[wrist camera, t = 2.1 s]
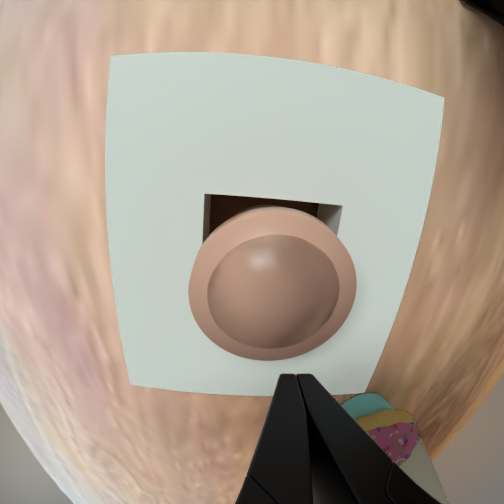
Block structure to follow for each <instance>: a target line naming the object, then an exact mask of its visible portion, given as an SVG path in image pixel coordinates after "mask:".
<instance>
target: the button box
mask: <svg viewBox="0 0 504 504" xmlns="http://www.w3.org/2000/svg"><path fill="white" fill-rule="evenodd" d="M443 108H444V98H443V97H441V96H438V95H435V94H432V93H430V92H427V91H424V90H421V89H418V88H415V87H411V86H408V85H405V84H402V83H398V82H395V81H391V80H388V79H384V78H381V77H377V76H373V75H369V74H365V73H361V72H356V71H352V70H348V69H343V68H338V67H333V66H328V65H323V64H317V63H311V62H305V61H299V60H292V59H284V58H276V57H268V56H258V55H246V54H232V53H211V52H163V53H142V54H128V55H117V56H111V62H110V71H109V82H108V94H107V110H106V133H105V190H106V214H107V230H108V243H109V255H110V265H111V274H112V282H113V290H114V298H115V305H116V312H117V318H118V324H119V330H120V336H121V342H122V347H123V352H124V357H125V362H126V367H127V372H128V376H129V381H130V385H136V386H143V387H150V388H158V389H166V390H175V391H185V392H195V393H208V394H223V395H243V396H273V394H274V391H275V388H276V385H277V381H278V378H279V375H280V374H282V373H288V374H295V375H296V374H305V373H310V374H312V375H314V376H315V378H316V379H317V380H318V381H319V382H320V383H321V384H322V385H323V386H324V388H325V389H326V390H327V391H328V392H329V393H330V394H331V395H342V394H357V393H365V390H366V388H367V386H368V384H369V382H370V379H371V377H372V375H373V373H374V370H375V368H376V366H377V363H378V361H379V358H380V356H381V354H382V351H383V349H384V346H385V344H386V341H387V338H388V336H389V333H390V331H391V328H392V325H393V323H394V320H395V317H396V314H397V311H398V309H399V306H400V303H401V300H402V297H403V294H404V291H405V288H406V285H407V281H408V278H409V275H410V272H411V268H412V265H413V261H414V258H415V254H416V251H417V247H418V244H419V240H420V236H421V232H422V228H423V224H424V220H425V216H426V211H427V207H428V202H429V198H430V193H431V188H432V183H433V178H434V172H435V166H436V161H437V154H438V148H439V141H440V134H441V126H442V118H443ZM211 194H218V195H233V196H246V197H259V198H271V199H282V200H293V201H303V202H313V203H319V206H318V212H317V219H319V220H320V221H322V222H323V223H324V224H326V225H327V226H328V227H329V228H330V229H331V230H332V231H333V232H334V233H335V234H336V236H337V237H338V238H339V239H340V241H341V242H342V243H343V245H344V246H345V248H346V249H347V251H348V253H349V254H350V256H351V259H352V261H353V263H354V267H355V271H356V279H357V287H356V295H355V300H354V303H353V306H352V309H351V311H350V313H349V315H348V317H347V319H346V320H345V322H344V323H343V325H342V326H341V327H340V329H339V330H338V331H337V332H336V333H335V334H334V335H333V336H332V337H331V338H330V339H329V340H327V341H326V342H325V343H323V344H322V345H320V346H319V347H317V348H315V349H314V350H312V351H310V352H307V353H305V354H303V355H300V356H297V357H294V358H289V359H285V360H277V361H260V360H252V359H247V358H243V357H240V356H236V355H234V354H232V353H229V352H227V351H225V350H224V349H222V348H220V347H219V346H217V345H216V344H215V343H213V342H212V341H211V340H210V339H209V338H208V337H207V336H206V335H205V334H204V333H203V332H202V330H201V329H200V328H199V326H198V324H197V323H196V321H195V319H194V317H193V314H192V312H191V308H190V304H189V296H188V288H189V280H190V276H191V272H192V268H193V265H194V261H195V259H196V256H197V254H198V251H199V249H200V248H201V246H202V244H203V243H204V241H205V240H206V239H207V238H208V236H209V228H210V208H211Z"/></svg>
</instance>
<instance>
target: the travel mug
mask: <svg viewBox="0 0 504 504" xmlns="http://www.w3.org/2000/svg"><path fill="white" fill-rule="evenodd" d="M419 439H420V440H419V441H418V442H417V444H416V446H415V449H414V451H413V452H412V453H411V455H410V457H409V458H408V459H407V461H404V462H403V463H402V464H401V465H400V466H399V467H400V468H401V469H402V470H403V471H404V472H405V473H406V474H407V475H408V476H409V477H410V478H411V479H412V480H413V481H414V482H415V483H416V484H418V485H419V486H420V487H421V488H422V489H424V490H425V491H426V492H427V493H429V494H430V495H431V496H432V497H434V498H435V499H436V500H438V501H439V502H440V503H442V504H449V502H448V500H447V497H446V495H445V492H444V490H443V487H442V485H441V483H440V480H439V478H438V475H437V473H436V471H435V469H434V466H433V464H432V461H431V459H430V457H429V454H428V452H427V450H426V448H425V445H424V443H423V441H422V439H421V438H420V437H419Z"/></svg>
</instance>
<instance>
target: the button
mask: <svg viewBox="0 0 504 504" xmlns="http://www.w3.org/2000/svg"><path fill="white" fill-rule="evenodd" d="M356 287H357V279H356V271H355V267H354V263H353V261H352V259H351V256H350V254H349V253H348V251H347V249H346V248H345V246H344V245H343V243H342V242H341V241H340V239H339V238H338V237H337V236H336V234H335V233H334V232H333V231H332V230H331V229H330V228H329V227H328V226H327V225H326V224H324V223H323V222H322V221H320V220H319V219H317V218H316V217H314V216H312V215H310V214H308V213H305V212H303V211H299V210H296V209H292V208H287V207H284V206H280V205H274V204H261V205H255V206H251V207H248V208H246V209H243V210H241V211H240V212H238V213H236V214H235V215H234V216H232V217H231V218H230V219H228V220H227V221H225V222H224V223H222V224H221V225H220V226H218V227H217V228H216V229H215V230H214V231H213V232H212V233H211V234H210V235H209V236H208V238H207V239H206V240H205V241H204V243H203V244H202V246H201V248H200V249H199V251H198V254H197V256H196V259H195V261H194V265H193V268H192V272H191V276H190V280H189V288H188V296H189V304H190V308H191V312H192V314H193V317H194V319H195V321H196V323H197V324H198V326H199V328H200V329H201V330H202V332H203V333H204V334H205V335H206V336H207V337H208V338H209V339H210V340H211V341H212V342H213V343H215V344H216V345H217V346H219V347H220V348H222V349H224V350H225V351H227V352H229V353H232V354H234V355H236V356H240V357H243V358H247V359H252V360H260V361H277V360H285V359H289V358H294V357H297V356H300V355H303V354H305V353H307V352H310V351H312V350H314V349H315V348H317V347H319V346H320V345H322V344H323V343H325V342H326V341H327V340H329V339H330V338H331V337H332V336H333V335H334V334H335V333H336V332H337V331H338V330H339V329H340V327H341V326H342V325H343V323H344V322H345V320H346V319H347V317H348V315H349V313H350V311H351V309H352V306H353V303H354V300H355V295H356Z"/></svg>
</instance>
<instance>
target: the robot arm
mask: <svg viewBox="0 0 504 504" xmlns="http://www.w3.org/2000/svg"><path fill="white" fill-rule="evenodd" d="M463 1H464V2H466V3H468V4H470V5H471V6H473V7H475V8H477V9H478V10H480V11H482V12H483V13H485V14H487V15H488V16H490V17H492V18H493V19H495V20H496V21H498V22H499V23H501V24H503V25H504V0H463ZM235 504H442V503H440V502H439V501H438V500H436V499H435V498H434V497H432V496H431V495H430V494H429V493H427V492H426V491H425V490H424V489H422V488H421V487H420V486H419V485H418V484H416V483H415V482H414V481H413V480H412V479H411V478H410V477H409V476H408V475H407V474H406V473H405V472H404V471H403V470H402V469H401V468H400V467H399V466H398V465H397V464H396V463H395V462H392V459H391V458H390V457H389V456H388V455H387V454H386V453H385V452H384V451H383V450H382V449H381V448H380V447H379V446H378V444H377V443H376V442H375V441H374V440H373V439H372V438H371V437H370V436H369V435H368V434H367V433H366V432H365V431H364V430H363V429H362V428H361V427H360V425H359V424H358V423H357V422H356V421H355V420H354V419H353V418H352V417H351V416H350V415H349V414H348V413H347V411H346V410H345V409H344V408H343V407H342V406H341V405H340V404H339V403H338V402H337V401H336V400H335V398H334V397H333V396H332V395H331V394H330V393H329V392H328V391H327V390H326V389H325V388H324V386H323V385H322V384H321V383H320V382H319V381H318V380H317V379H316V378H315V376H314V375H312V374H310V373H305V374H296V375H295V374H288V373H282V374H280V375H279V378H278V381H277V385H276V388H275V391H274V394H273V397H272V401H271V404H270V407H269V410H268V413H267V416H266V419H265V423H264V426H263V429H262V432H261V435H260V438H259V441H258V444H257V447H256V450H255V452H254V455H253V458H252V461H251V464H250V467H249V470H248V472H247V476H246V477H245V480H244V483H243V486H242V488H241V491H240V493H239V496H238V498H237V500H236V503H235Z"/></svg>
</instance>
